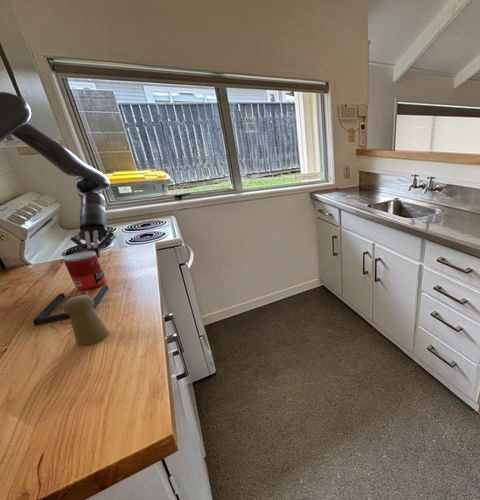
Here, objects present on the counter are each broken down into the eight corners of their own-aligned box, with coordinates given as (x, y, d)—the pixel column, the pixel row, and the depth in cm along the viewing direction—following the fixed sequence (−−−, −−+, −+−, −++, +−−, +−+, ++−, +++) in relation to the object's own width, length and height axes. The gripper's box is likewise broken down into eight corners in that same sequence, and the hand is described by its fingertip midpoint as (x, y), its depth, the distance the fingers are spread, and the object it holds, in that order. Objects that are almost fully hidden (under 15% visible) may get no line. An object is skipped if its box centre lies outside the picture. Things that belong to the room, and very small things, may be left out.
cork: (85, 348, 65) (67, 307, 61) (70, 342, 67) (51, 303, 63) (114, 332, 70) (98, 294, 66) (99, 327, 72) (83, 290, 68)
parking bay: (34, 325, 74) (32, 320, 74) (61, 297, 88) (59, 293, 87) (92, 313, 79) (90, 308, 78) (108, 288, 93) (107, 284, 92)
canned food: (104, 286, 94) (92, 256, 90) (73, 293, 90) (59, 261, 86) (109, 277, 100) (97, 249, 96) (79, 283, 97) (66, 254, 93)
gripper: (65, 215, 101) (64, 258, 95) (110, 210, 106) (112, 251, 100) (76, 225, 107) (76, 266, 101) (118, 220, 113) (121, 259, 107)
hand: (94, 258), depth 101 cm, fingers closed
